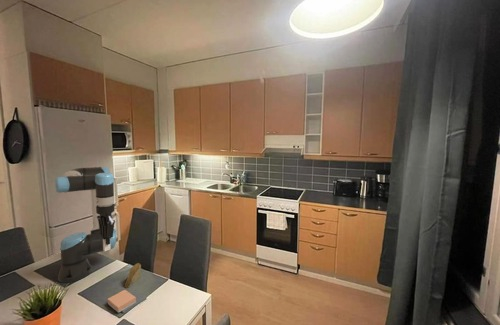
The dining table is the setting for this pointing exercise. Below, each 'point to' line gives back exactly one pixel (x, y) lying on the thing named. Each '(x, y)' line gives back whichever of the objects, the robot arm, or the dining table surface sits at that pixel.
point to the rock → (133, 275)
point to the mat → (139, 299)
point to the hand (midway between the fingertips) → (106, 249)
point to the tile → (121, 300)
